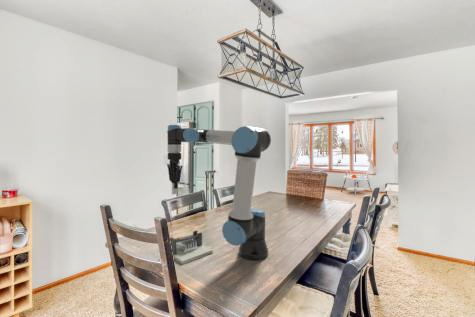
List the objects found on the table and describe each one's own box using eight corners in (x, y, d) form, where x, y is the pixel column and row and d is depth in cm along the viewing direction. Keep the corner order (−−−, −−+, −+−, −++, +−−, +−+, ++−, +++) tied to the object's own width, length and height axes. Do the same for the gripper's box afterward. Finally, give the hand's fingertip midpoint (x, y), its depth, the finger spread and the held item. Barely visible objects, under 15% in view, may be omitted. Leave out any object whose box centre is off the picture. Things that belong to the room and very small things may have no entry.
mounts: (202, 245, 130) (202, 232, 129) (174, 254, 118) (174, 240, 118) (196, 242, 133) (196, 230, 133) (169, 251, 122) (169, 237, 122)
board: (212, 252, 124) (212, 249, 124) (182, 264, 112) (182, 261, 112) (189, 240, 140) (189, 237, 140) (160, 249, 128) (160, 246, 128)
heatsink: (197, 248, 125) (197, 241, 125) (184, 253, 120) (184, 245, 120) (188, 243, 132) (188, 236, 132) (175, 247, 126) (175, 240, 126)
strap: (200, 238, 130) (200, 234, 130) (176, 243, 120) (177, 239, 120) (197, 236, 132) (197, 233, 132) (173, 241, 122) (174, 238, 122)
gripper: (186, 152, 132) (186, 194, 134) (174, 152, 142) (174, 191, 143) (174, 153, 127) (174, 196, 128) (162, 152, 136) (163, 193, 138)
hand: (174, 193), depth 136 cm, fingers closed
